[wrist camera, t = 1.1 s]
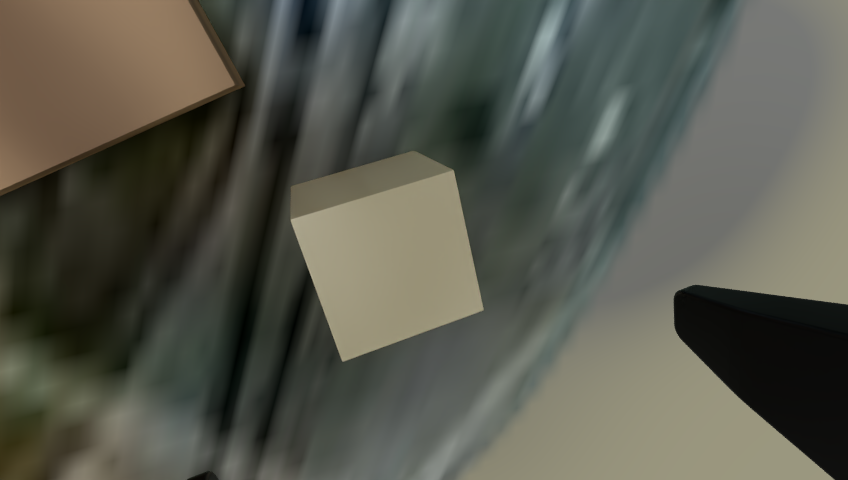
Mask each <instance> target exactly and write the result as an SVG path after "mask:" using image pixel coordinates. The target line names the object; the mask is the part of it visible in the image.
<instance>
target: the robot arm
mask: <svg viewBox="0 0 848 480" xmlns="http://www.w3.org/2000/svg"><path fill="white" fill-rule="evenodd" d="M674 326H675V330H676V332H677V334H678V336H679V337H680V339H681V340H682V341H683V342H684V343H685V344H686V345H687V346H688V347H689V348H690V349H691V350H692V351H693V352H694V353H695V354H696V355H697V356H698V357H699V358H700V359H701V360H702V361H703V362H704V363H705V364H706V365H707V366H708V367H709V368H710V369H711V370H712V371H713V372H714V373H715V374H716V375H717V376H718V377H719V378H720V379H721V380H722V381H723V382H724V383H725V384H726V385H727V386H728V387H729V388H730V389H731V390H732V391H733V392H734V393H735V394H736V395H737V396H738V397H739V398H740V399H741V400H742V401H743V402H744V403H746V404H747V405H748V406H749V407H750V408H752V410H754V411H755V412H756V413H757V414H758V415H759V416H761V417H762V418H763V419H764V420H765V421H766V422H768V423H769V424H770V425H771V426H773V427H774V428H775V429H776V430H777V431H778V432H779V433H781V434H782V435H783V436H784V437H785V438H786V439H788V440H789V441H790V442H791V443H792V444H793V445H795V446H796V447H797V448H798V449H799V450H801V451H802V452H803V453H804V454H805V455H806V456H808V457H809V458H810V459H811V460H812V461H813V462H815V463H816V464H817V465H818V466H819V467H820V468H822V469H823V470H824V471H825V472H826V473H827V474H829V475H830V476H831V477H832V478H833V479H835V480H848V305H846V304H838V303H831V302H823V301H815V300H808V299H801V298H793V297H785V296H777V295H769V294H762V293H755V292H747V291H740V290H732V289H725V288H717V287H709V286H701V285H692V286H689V287H687V288H684V289H682V290H679V291H677V292H676V293H675V296H674ZM187 480H218V478H217V476H216V475H215V474H214V473H213V472H210V471H207V472H204V473H202V474H199V475H197V476H194V477H191V478H189V479H187Z"/></svg>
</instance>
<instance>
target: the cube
mask: <svg viewBox="0 0 848 480" xmlns="http://www.w3.org/2000/svg"><path fill="white" fill-rule="evenodd" d="M290 220H291V223H292V226H293V228H294V231H295V234H296V237H297V239H298V242H299V245H300V248H301V250H302V253H303V256H304V258H305V261H306V264H307V267H308V269H309V272H310V275H311V278H312V280H313V283H314V286H315V288H316V291H317V294H318V297H319V299H320V302H321V305H322V308H323V310H324V313H325V316H326V319H327V321H328V324H329V327H330V329H331V332H332V335H333V338H334V340H335V343H336V346H337V349H338V351H339V354H340V357H341V359H342V362H344V361H346V360H349V359H352V358H355V357H357V356H360V355H363V354H366V353H368V352H371V351H374V350H376V349H379V348H382V347H385V346H387V345H390V344H393V343H396V342H398V341H401V340H404V339H407V338H409V337H412V336H415V335H418V334H420V333H423V332H426V331H429V330H431V329H434V328H437V327H439V326H442V325H445V324H448V323H450V322H453V321H456V320H459V319H461V318H464V317H467V316H470V315H472V314H475V313H478V312H481V311H483V310H484V309H483V304H482V300H481V295H480V290H479V286H478V281H477V277H476V272H475V267H474V263H473V258H472V253H471V249H470V244H469V239H468V235H467V230H466V225H465V221H464V216H463V211H462V207H461V202H460V197H459V193H458V188H457V183H456V179H455V174H454V170H452V169H450V168H448V167H446V166H444V165H442V164H440V163H438V162H436V161H434V160H432V159H430V158H428V157H426V156H424V155H422V154H420V153H418V152H416V151H410V152H407V153H404V154H400V155H397V156H393V157H390V158H386V159H383V160H379V161H376V162H373V163H369V164H366V165H362V166H359V167H355V168H352V169H349V170H345V171H342V172H338V173H335V174H331V175H328V176H324V177H321V178H318V179H314V180H311V181H307V182H304V183H300V184H297V185H294V186H291V205H290Z"/></svg>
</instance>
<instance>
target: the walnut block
mask: <svg viewBox="0 0 848 480" xmlns="http://www.w3.org/2000/svg"><path fill="white" fill-rule="evenodd" d="M244 86H245V84H244V83H243V81H242V79H241V77H240V75H239V74H238V72H237V70H236V68H235V66H234V64H233V63H232V61H231V59H230V57H229V55H228V54H227V52H226V50H225V48H224V46H223V45H222V43H221V41H220V39H219V37H218V35H217V34H216V32H215V30H214V28H213V26H212V25H211V23H210V21H209V19H208V17H207V16H206V14H205V12H204V10H203V8H202V6H201V5H200V3H199V1H198V0H0V196H1V195H4V194H6V193H8V192H10V191H13V190H15V189H17V188H19V187H22V186H24V185H26V184H28V183H30V182H33V181H35V180H37V179H39V178H42V177H44V176H46V175H48V174H50V173H53V172H55V171H57V170H59V169H62V168H64V167H66V166H68V165H70V164H73V163H75V162H77V161H79V160H82V159H84V158H86V157H88V156H91V155H93V154H95V153H97V152H99V151H102V150H104V149H106V148H108V147H111V146H113V145H115V144H117V143H119V142H122V141H124V140H126V139H128V138H131V137H133V136H135V135H137V134H139V133H142V132H144V131H146V130H148V129H151V128H153V127H155V126H157V125H160V124H162V123H164V122H166V121H168V120H171V119H173V118H175V117H177V116H180V115H182V114H184V113H186V112H188V111H191V110H193V109H195V108H197V107H200V106H202V105H204V104H206V103H208V102H211V101H213V100H215V99H217V98H220V97H222V96H224V95H226V94H229V93H231V92H233V91H235V90H237V89H240V88H242V87H244Z"/></svg>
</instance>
